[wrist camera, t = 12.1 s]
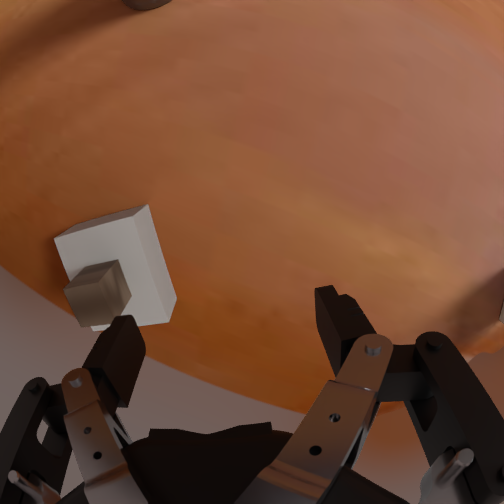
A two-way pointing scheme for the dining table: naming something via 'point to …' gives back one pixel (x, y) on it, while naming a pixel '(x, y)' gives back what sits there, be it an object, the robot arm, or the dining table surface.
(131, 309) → the block
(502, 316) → the coffeecake box
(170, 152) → the dining table surface
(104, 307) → the walnut block
